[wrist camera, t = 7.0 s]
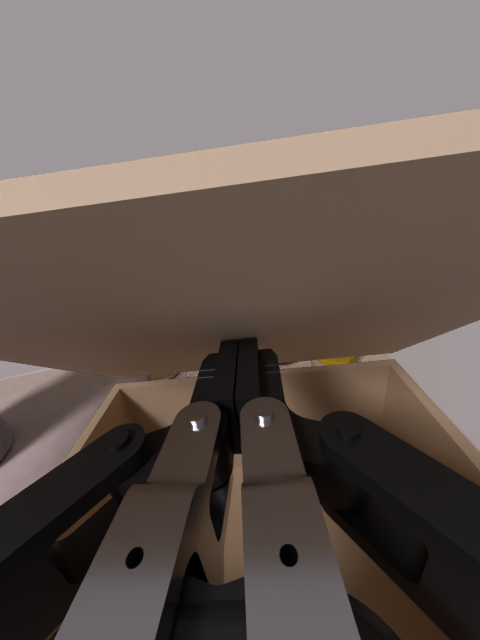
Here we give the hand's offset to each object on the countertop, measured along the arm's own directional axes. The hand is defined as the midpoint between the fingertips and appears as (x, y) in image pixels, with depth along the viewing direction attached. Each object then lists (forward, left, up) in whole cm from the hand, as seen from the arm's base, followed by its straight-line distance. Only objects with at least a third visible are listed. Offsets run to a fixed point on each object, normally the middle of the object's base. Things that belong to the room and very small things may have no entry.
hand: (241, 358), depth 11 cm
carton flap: (0, 0, +1) cm, 1 cm away
